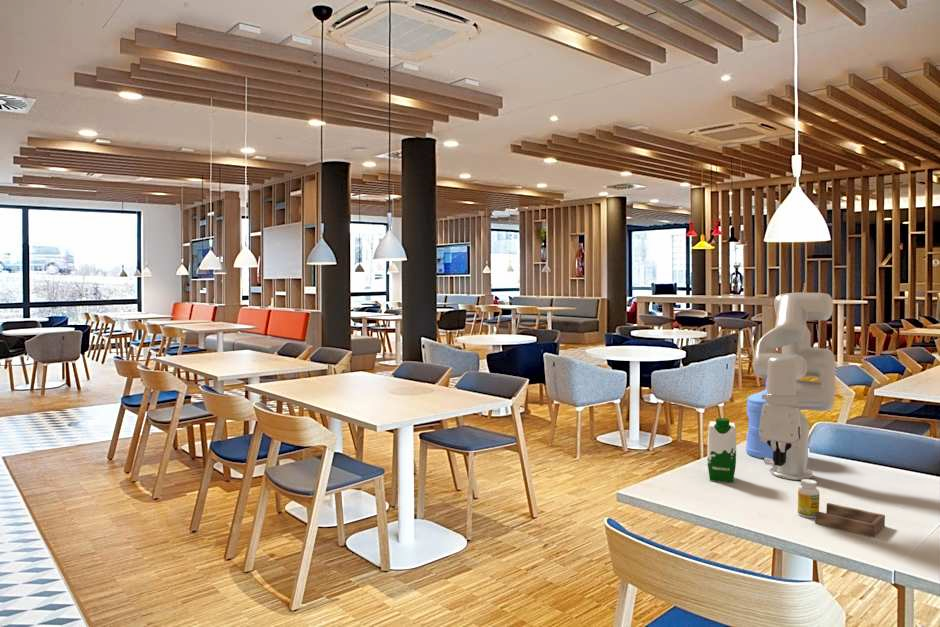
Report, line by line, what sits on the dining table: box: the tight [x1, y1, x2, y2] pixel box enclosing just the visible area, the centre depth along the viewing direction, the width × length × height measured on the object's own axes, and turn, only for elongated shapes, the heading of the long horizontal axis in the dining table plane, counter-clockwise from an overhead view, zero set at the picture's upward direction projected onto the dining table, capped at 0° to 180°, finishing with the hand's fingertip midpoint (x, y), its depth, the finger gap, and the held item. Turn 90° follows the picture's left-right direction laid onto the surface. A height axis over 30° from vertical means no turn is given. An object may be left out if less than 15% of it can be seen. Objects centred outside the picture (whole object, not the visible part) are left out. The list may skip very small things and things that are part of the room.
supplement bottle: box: [797, 479, 820, 519], centre depth 193 cm, size 5×5×10 cm
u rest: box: [814, 502, 886, 538], centre depth 186 cm, size 14×10×3 cm
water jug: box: [745, 378, 773, 459], centre depth 255 cm, size 16×16×28 cm
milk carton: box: [706, 417, 737, 484], centre depth 226 cm, size 9×9×20 cm
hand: (779, 464), depth 197 cm, fingers closed
